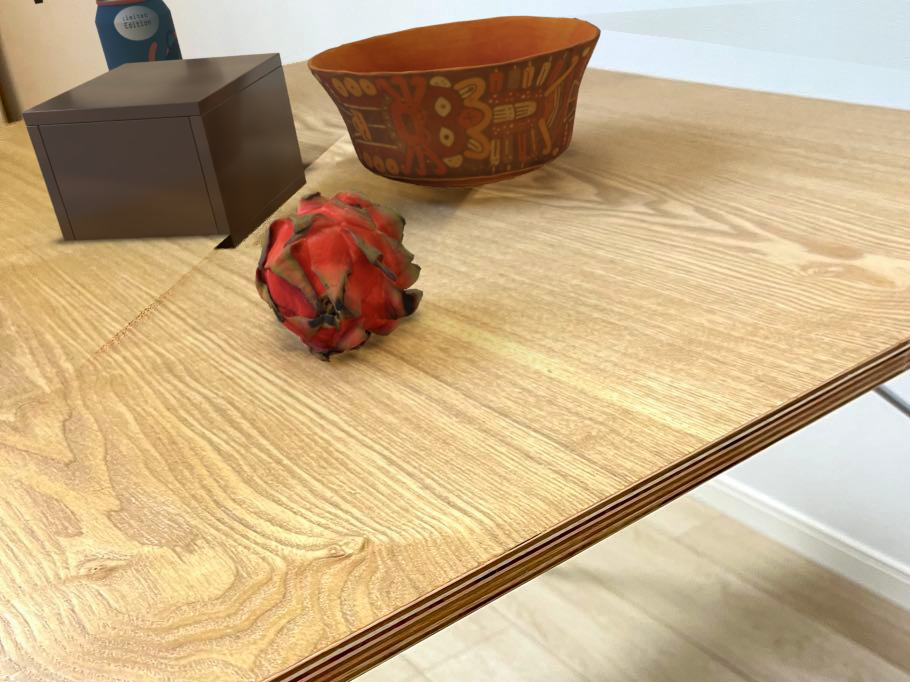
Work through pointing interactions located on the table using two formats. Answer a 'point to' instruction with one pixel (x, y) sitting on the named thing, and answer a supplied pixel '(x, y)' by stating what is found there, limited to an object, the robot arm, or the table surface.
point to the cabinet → (170, 149)
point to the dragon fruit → (338, 272)
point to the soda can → (136, 32)
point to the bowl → (460, 97)
